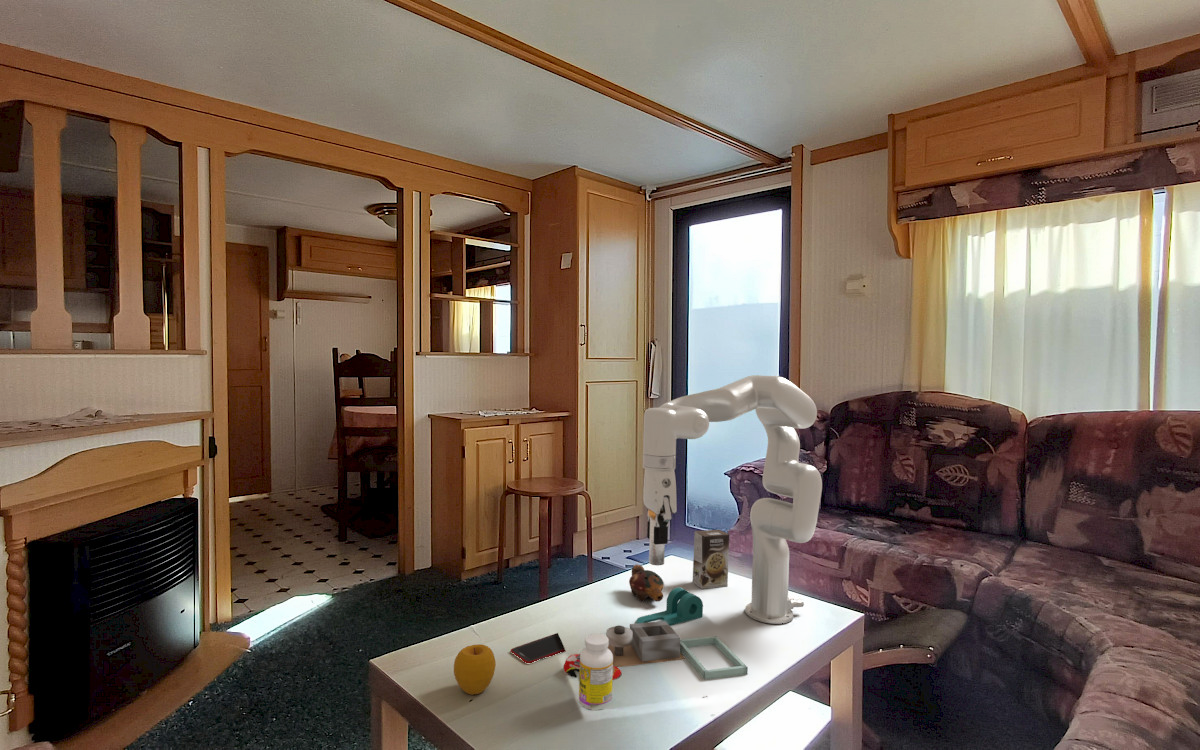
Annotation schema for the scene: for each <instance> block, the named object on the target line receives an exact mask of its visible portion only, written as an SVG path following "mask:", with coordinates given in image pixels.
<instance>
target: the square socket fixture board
mask: <svg viewBox="0 0 1200 750" xmlns="http://www.w3.org/2000/svg"><path fill="white" fill-rule="evenodd" d="M657 621H658V622H657ZM657 621H651V622H647V623H637V624H636V623H629V627H626V626H624V625H615V626H611V627H609V628H607V629H606V633H605V636H607V637H608V640H609V645H608V649H609V650H610V651H611V652H612V654H613V666H615V667H617V668H620V667H628V666H629V667H630V666H639V665H647V664H656V663H664V662H674V661H682V660H683V661H684V660H686V657H685V655H684V654H683V653H682V652H681V650H680V640H681V637H680V636H679V635H678V633H677V632H676V630H674V629H673V627H672V625H671V626H670V625H669V624H668V623H667V622H666V621H661V620H657Z"/></svg>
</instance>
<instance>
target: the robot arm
mask: <svg viewBox="0 0 1200 750" xmlns="http://www.w3.org/2000/svg"><path fill="white" fill-rule="evenodd" d="M754 410H755V414H756V416H757V418H758V420H759V421H760V423H761V424H762V426H763V428H764V430H765V432H766V434H767V435H766V436H767V449H766V454H765V460H764V466H763V471H762V487H763V488H764V489H765V491H767V492H769V493H772V494H775V495H778V496H782V497H783V496H784V497H787V498H791V499H793V500H792V503H791V502H789V501H786V500H781V499H776V498H771V497H762V498H759V499H757V500H756V501H755V502H754V503H752V505H751V509H750V514H749V515H750V517H749V518H750V519H749V520H750V525H751V531H752V545H753V546H752V575H751V601H750V602H749V603H747V604H746V605H745V607H744V608H745V610H744V611H745V614H746V615H747V616H748V617H749V618H751V619H753V620H755V621H758V622H760V623H766V624H770V625H771V624H772V625H775V624H776V625H778V624H779V625H781V624H782V623H783V624H787V623H790V622H792V621H793V619H794V612H793V609H794V608H802V607H804V605H805V603H804V601H803V599H800V598H799V599H795V598H794V597H792V596H791V597H790V596H789V575H790V574H789V573H790V549H789V548H790V547H789V545H788V542H787V541H790V542H794V543H798V544H803V543H804V544H805V543H807V542H809V541H811V539H812V538H813V536H814V534H815V531H816V527H817V522H818V516H819V511H820V510H819V509H820V504H821V497H822V492H823V480H822V476H821V473H820V471H819V470H818V469H817V468H816V467H815V466H813V465H811V464H808V463H803V462H799V458H800V457H799V456H800V449H801V443H800V442H801V441H800V438H799V435H798V432H797V431H796V429H798V430H799V429H801V430H802V429H807V428H810V427H811V426H813V425H814V423H815V422H816V420H817V416H818V409H817V406H816V404H815V402H814V400H813V398H811V397H810V396H809V395H808V394H807V393H805V392H804V391H803V390H802V389H801V388H799V387H798V386H797V385H796V384H794V383H793V382H791V381H789V380H788V379H786V378H785V377H783V376H779V375H759V374H757V375H748V376H746V377H743V378H741V379H738V380H735V381H733V382H730V383H728V384H726V385H723V386H721V387H719V388H715V389H710V390H709V389H708V390H706V391H701V392H696V393H692V394H687V395H685V396H684V395H682V396H680V397H677V398H675V399H674V398H673V399H672V400H669V401H667V402H665V403H662V404H661V405H660V406H659V407H648V408H647V409H645V411H644V414H643V433H642V434H643V437H642V438H643V440H642V442H643V444H642V450H643V451H642V469H644V473H643V490H642V492H643V493H642V496H643V497H642V498H643V499H642V501H643V506H645V508H646V512H647V515H646V516H647V517H646V521H647V529H646V531H647V532H646V533H647V534H646V537H647V538H648V540H650V516H648V509H650V510H651V511H653V512H654V513H655V523H656V526H654V544H655V545H657V544H665V545H667V544H668V541H669V540H668V538H669V537H668V536H669V524H670V523H669V522H670V521H671V520H672V514H676V513H677V510H678V509H677V483H676V473H675V470H676V464H677V463H676V459H677V439H686V440H696V439H697V440H698V439H700V438H702V437H703V436H705V434H706V433H707V432H708V430H709V428H710V427H709V426H710V423H719V422H720V423H721V422H727V421H732V420H734V419H737V418H738V417H740V416H743V415H744V414H745V415H746V414H747V413H750V412H752V411H754ZM660 510H663V512H664V513H660ZM659 516H663V517H661V518H660V520H659Z"/></svg>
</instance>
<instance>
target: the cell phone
mask: <svg viewBox="0 0 1200 750" xmlns="http://www.w3.org/2000/svg"><path fill="white" fill-rule="evenodd" d="M564 651H565V652H566V651H567V650H566V649H565V647H564V643H563V642H562V639H561V637H560V635H559V633H558V632H555V633H553V634H549V635H547V636H545V637H542V638H539V639H536V640H534V641H530V642H527V643H523V644H522V645H519V646H516V647H513V648H511V649H510V653H511V652H512V653H514V654H515V655H516V656H518V657H519V658H521V659H522V660H523V661H524V662H526V663H532V662H534V661H537V660H539V659H542V660H544V659H543V658H545V657H549V656H551V657H554V656H556V655H555V654H557V655H559V654H558V653H560V652H562V653H565V652H564ZM560 654H561V653H560ZM553 655H554V656H553ZM549 658H550V657H549ZM545 659H546V658H545ZM524 662H523V663H524ZM537 662H538V661H537ZM532 664H533V663H532Z"/></svg>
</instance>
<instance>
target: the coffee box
mask: <svg viewBox="0 0 1200 750" xmlns="http://www.w3.org/2000/svg"><path fill="white" fill-rule="evenodd" d="M693 538H694V539H693V540H694V541H693V543H694V544H693V563H692V564H693V567H692V582H693V584H695V585H696V586H697V587H699V588H700V589H713V588H720V587H721V588H722V587H728V585H729V584H728V581H729V580H728V579H729V578H728V577H729V555H730V554H729V552H730V550H729V549H730V534H729V533H727V532H725V531H723V530H721V529H709V530H707V529H705V530H694V535H693Z"/></svg>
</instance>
